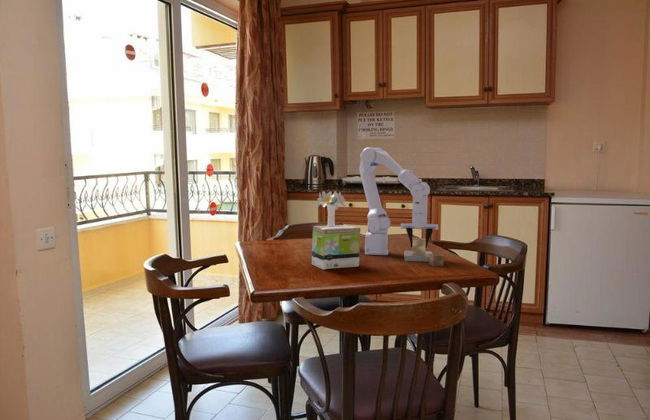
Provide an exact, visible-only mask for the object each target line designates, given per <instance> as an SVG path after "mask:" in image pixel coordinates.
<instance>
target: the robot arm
mask: <svg viewBox="0 0 650 420" xmlns="http://www.w3.org/2000/svg"><path fill="white" fill-rule="evenodd" d="M359 157H360V163H359V167H358V168H359V170H358V171H359V175H360V179H361V183H362V187H363V191H364V195H365V200H366V202H367V206H368V210H369V211H368V214H367V215H366V216H367V225H366V226H367V229H368V230H369V231H366V232H365V238H364V241H365V242H364V255H372V256H373V255H374V256H376V255H377V256H388V255H389V250H388V241H389V240H388V237H389V235H388V233H389V228H390V227H391V224H392V222H391V219H390V217H389V216H388V215H387V211H386V210H385V209H384V208H383V206H382V201H381V198H380V195H379V190H378V186H377V183H376V178H375V175H374V174H375V173H374V171H375V169H376V168H377V167H378V166H379V165H384V166H385V167H386V168H388V169H389V170H390V171H392V172H393V173H394V174H395V175H397V177H398V178H397V179H398V181H399V182H400V183H401V184H402V185H403V186H404V187H405V188H406V189H408V190H409V191H410V195H411V196H412V218H411V222H410V223H409V222H408V223H403V222H402V223H400V229H401V230H405V231H406V234H407V237H408V238H409V242H410V243H409V244H410V248H412V245H413V238H414V237H413V235H414V234H413V233H414V230H425V238H424V239H425V240H426V247H425V249H427V248H428V244H429V241H430V238H431V236H432V234H433V232H434V230H435V231H438V230H439V224H437V223H436V224H434V223H428V196H429V194H430V192H431V187H430V186H429V184H428V182H425V181H423V179H421V178H418V177H417V176H416V175H415V174H414V171H413V170H412V169H411V170H409V169H404V168H403V167H402V166H401V165H400V164H399V163H398V162H397V161H396V160H394V158H392V157H391V155H390V154H389V153H388V152H387V151H386V150H384V149H383V148H382V147H370V146H369V147H368V146H367V147H365V148H363V150H362V151H361V153H360V154H359Z"/></svg>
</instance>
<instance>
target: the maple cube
mask: <svg viewBox="0 0 650 420" xmlns="http://www.w3.org/2000/svg"><path fill="white" fill-rule="evenodd" d="M425 239H426V238H418V237H417V238H416V237H412V241H413V245H412V247H411V251H412V253H424V254H425V251H426V248H425V247H426V240H425Z"/></svg>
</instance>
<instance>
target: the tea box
mask: <svg viewBox="0 0 650 420" xmlns="http://www.w3.org/2000/svg"><path fill="white" fill-rule="evenodd" d="M311 242H312V243H311V245H312V247H311V248H312V249H311V265H313V266H314V267H317V268H319V269H321V270H328V269H329V270H331V269H341V268H344V269H345V268H356V267H359V266H360V254H361V253H360V250H361V248H360V247H361V227H358V226H354V225H350V224H335V225H328V224H327V225H326V224H325V225H313V226H312V241H311Z"/></svg>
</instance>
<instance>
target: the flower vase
mask: <svg viewBox="0 0 650 420" xmlns="http://www.w3.org/2000/svg"><path fill="white" fill-rule="evenodd" d="M318 194H319V196H318V198H317V199H316V202H317V204H316V208H315V209H318V207H319V206H322V208H325V207H326V208H327V209H326V210H327V225H336V222H335V221H336V219H335V218H336V217H335V216H336V215H335V214H336V213H335V212H336V210H338V209H339V205H341V206H342V207H344V208H346V205H345V202H346V199H345V197H344V196H343V195H342V192H341V191H339V192H337V191H334V192H333V194H332V191H329V192H327V193H326V192H325V190H324V191H322V192H319V193H318Z"/></svg>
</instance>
